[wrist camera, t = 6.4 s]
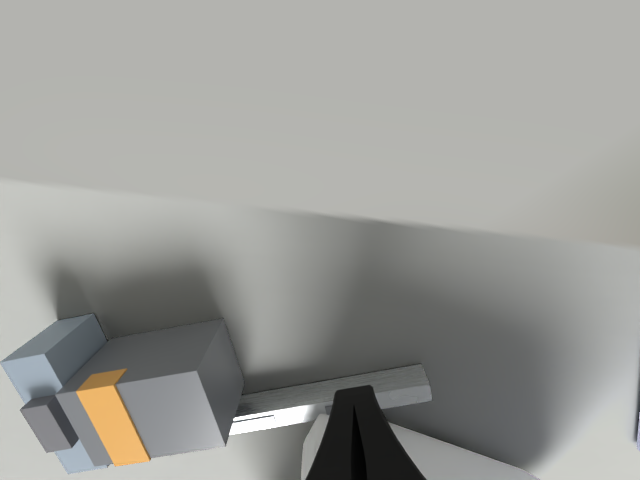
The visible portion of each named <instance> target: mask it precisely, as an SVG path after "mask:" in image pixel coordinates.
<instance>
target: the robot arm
mask: <svg viewBox="0 0 640 480" xmlns="http://www.w3.org/2000/svg"><path fill="white" fill-rule="evenodd" d="M637 449H638V450H639V451H640V414H639V425H638V437H637ZM305 480H427V479H426V478H425V477H424V476H423V474H422V473H421V472H420V470H419V469H418V468H417V466H416V465H415V464H414V462H413V461H412V460H411V458H410V457H409V455H408V454H407V452H406V451H405V449H404V448H403V446H402V445H401V443H400V442H399V440H398V439H397V437H396V435H395V434H394V432H393V430H392V429H391V427H390V425H389V423H388V422H387V420H386V418H385V416H384V414H383V412H382V410H381V408H380V406H379V404H378V401H377V399H376V396H375V393H374V389H373V387H372V386H371V385H365V386H359V387H353V388H346V389H340V390H337V391H336V392H335V394H334V400H333V404H332V409H331V412H330V416H329V419H328V423H327V426H326V429H325V432H324V435H323V438H322V441H321V443H320V446H319V449H318V451H317V454H316V456H315V459H314V461H313V464H312V466H311V468H310V470H309V473H308V475H307V477H306V479H305Z"/></svg>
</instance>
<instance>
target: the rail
mask: <svg viewBox="0 0 640 480" xmlns="http://www.w3.org/2000/svg"><path fill="white" fill-rule="evenodd" d="M365 385H371V386H372V387H373V389H374V393H375V396H376V399H377V401H378V404H379V406H380V408H381V409H386V408H392V407H398V406H404V405H410V404H416V403H422V402H428V401H432V395H431V388H430V383H429V381H428V378H427V376H426V374H425V371H424V369H423V366H422V364H417V365H412V366H406V367H400V368H395V369H389V370H383V371H377V372H372V373H366V374H360V375H355V376H349V377H343V378H338V379H332V380H326V381H321V382H315V383H309V384H304V385H298V386H292V387H287V388H281V389H275V390H270V391H264V392H258V393H253V394H247V395H241V397H240V400H239V404H238V407H237V410H236V414H235V417H234V420H233V424H232V427H231V430H230V434H229V435H231V434H237V433H243V432H249V431H255V430H261V429H267V428H273V427H279V426H285V425H291V424H297V423H303V422H309V421H314V420H316V418H317V417H318V415H319V414H327V415H330V412H331V409H332V404H333V400H334V394H335V392H336V391H337V390H340V389H346V388H353V387H359V386H365Z"/></svg>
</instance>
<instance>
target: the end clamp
mask: <svg viewBox="0 0 640 480" xmlns="http://www.w3.org/2000/svg"><path fill="white" fill-rule="evenodd" d="M106 343H107V340H106V338H105V335H104V333H103V331H102V329H101V327H100V325H99V323H98V321H97V319H96V317H95V315H94V313H93V314H88V315H83V316H78V317H73V318H68V319H63V320H58V321H56V322H54V323H53V324H52V325H50V326H49V327H48V328H46V329H45V330H43V331H42V332H41V333H39V334H38V335H37V336H35V337H34V338H33V339H31V340H30V341H28V342H27V343H26V344H24V345H23V346H22V347H20V348H19V349H17V350H16V351H15V352H13V353H12V354H11V355H9V356H8V357H6V358H5V359H4V360H2V361H1V362H0V364H1V365H2V367H3V369H4V370H5V372H6V374H7V375H8V377H9V378H10V380H11V382H12V383H13V385H14V387H15V388H16V390H17V391H18V393H19V395H20V396H21V398H22V400H23V401H24V403H25V405H24V406H23V407H22V408H21V409H20V411H21V413H22V414H23V416H24V417H25V419H26V421H27V422H28V424H29V426H30V427H31V429H32V430H33V432H34V434H35V435H36V437H37V438H38V440H39V442H40V443H41V445H42V446H43V448H44V450H45V451H46V453H48V452H55V454H56V455H57V457H58V459H59V460H60V462H61V463H62V465H63V467H64V468H65V470H66V472H67V473H68V474H71V473H77V472H83V471H89V470H95V469H101V468H108V466H109V465H102V466H96V467H94V465H93V463H92V461H91V459H90V458H89V456H88V454H87V452H86V450H85V448H84V447H83V445H82V443H81V441H80V439H79V438H78V436H77V434H76V432H75V430H74V429H73V427H72V425H71V423H70V421H69V419H68V418H67V416H66V414H65V412H64V410H63V409H62V407H61V405H60V403H59V401H58V400H57V398H56V396H55V394H56V393H57V392H58V391H59V390H60V389H61V388H62V387H63V386H64V385H65V384H66V383H67V382H68V381H69V380H70V379H71V378H72V377H73V376H74V375H75V374H76V373H77V372H78V371H79V370H80V369H81V368H82V367H83V366H84V365H85V364H86V363H87V362H88V361H89V360H90V359H91V358H92V357H93V356H94V355H95V354H96V353H97V352H98V351H99V350H100V349H101V348H102V347H103V346H104V345H105V344H106Z"/></svg>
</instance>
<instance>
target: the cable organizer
mask: <svg viewBox="0 0 640 480" xmlns="http://www.w3.org/2000/svg"><path fill="white" fill-rule="evenodd" d="M329 416H330V415H327V414H319V415H318V417H317V418H316V420H315V422H314V424H313V426H312V427H311V429H310V431H309V433H308V435H307V437H306V438H305V441H304V443H303V452H302V468H301V480H305V479H306V477H307V475H308V473H309V470H310V468H311V466H312V464H313V461H314V459H315V456H316V454H317V451H318V449H319V446H320V443H321V441H322V438H323V435H324V432H325V429H326V426H327V423H328V419H329ZM388 423H389V425H390V427H391V429H392V430H393V432H394V434H395V435H396V437H397V439H398V440H399V442H400V443H401V445H402V446H403V448H404V449H405V451H406V452H407V454H408V455H409V457H410V458H411V460H412V461H413V462H414V464H415V465H416V466H417V468H418V469H419V470H420V472H421V473H422V474H423V476H424V477H425V478H426V479H427V480H540V479H539V478H537V477H536V476H534V475H532V474H530V473H529V472H527V471H525V470H522V469H520V468H517V467H514V466H512V465H509V464H506V463H503V462H500V461H497V460H495V459H492V458H489V457H486V456H483V455H480V454H478V453H475V452H472V451H469V450H466V449H463V448H461V447H458V446H455V445H452V444H449V443H446V442H443V441H441V440H438V439H435V438H432V437H429V436H426V435H424V434H421V433H418V432H415V431H412V430H409V429H407V428H404V427H401V426H398V425H395V424H392V423H390V422H388Z"/></svg>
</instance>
